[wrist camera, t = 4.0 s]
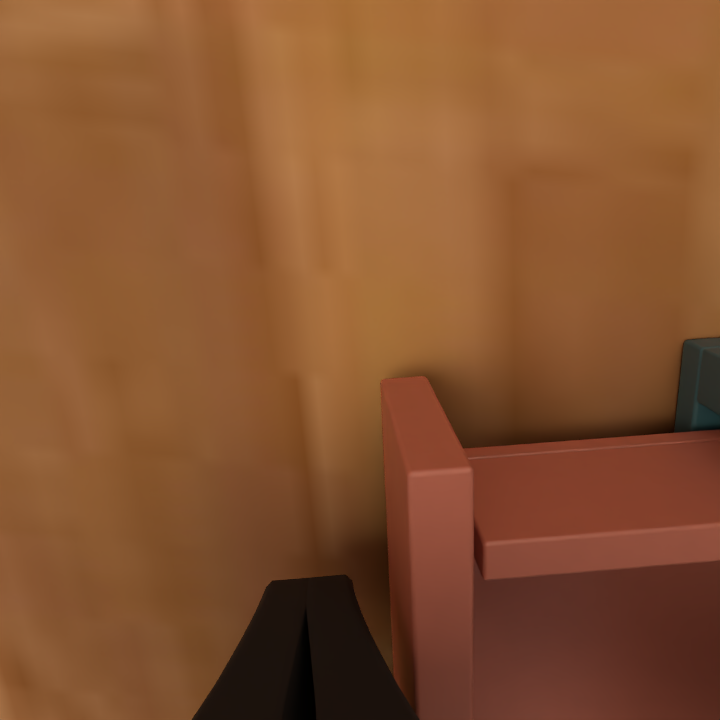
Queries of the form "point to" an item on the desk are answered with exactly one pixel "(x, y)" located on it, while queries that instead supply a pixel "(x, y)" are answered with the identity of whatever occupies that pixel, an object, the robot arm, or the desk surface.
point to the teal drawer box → (699, 386)
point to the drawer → (551, 571)
